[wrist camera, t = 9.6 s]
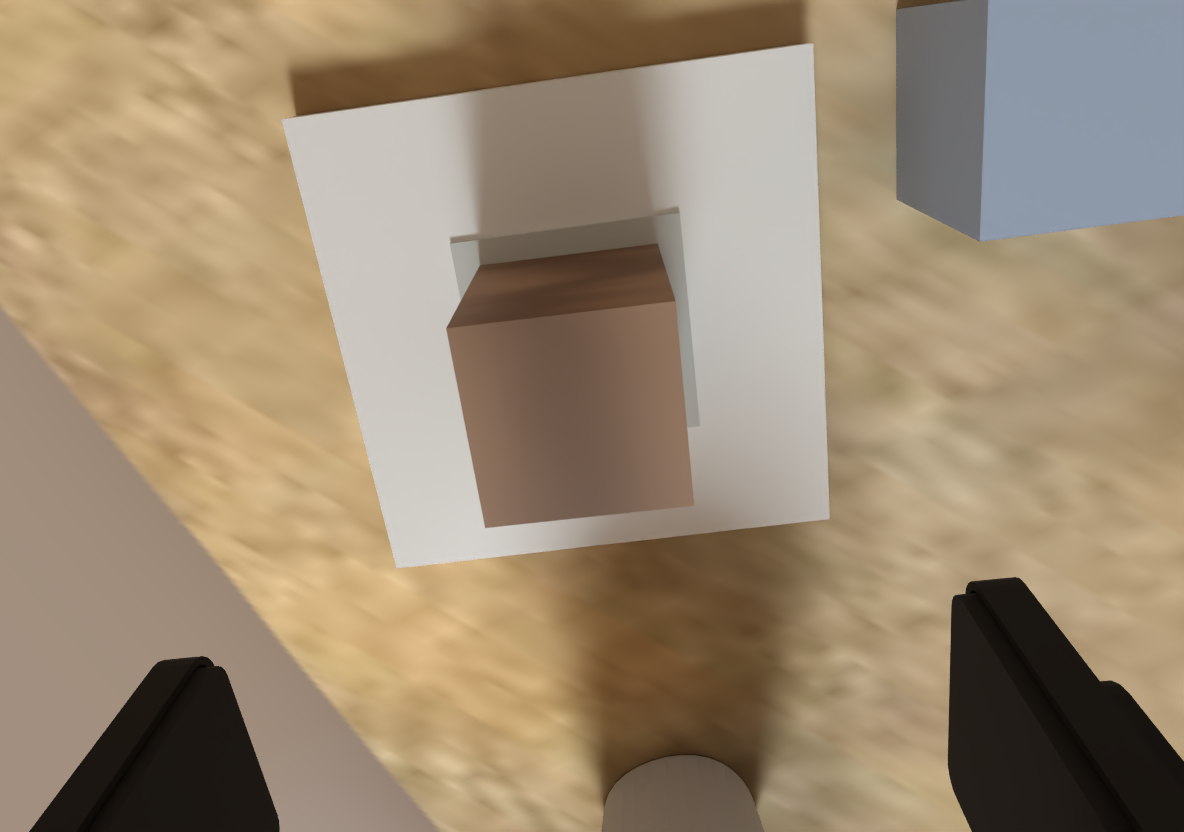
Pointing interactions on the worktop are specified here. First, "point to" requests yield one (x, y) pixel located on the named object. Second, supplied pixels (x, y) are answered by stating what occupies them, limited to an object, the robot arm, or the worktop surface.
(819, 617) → the worktop surface
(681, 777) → the coffee cup
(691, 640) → the worktop surface
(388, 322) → the plate
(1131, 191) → the block blue
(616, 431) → the block walnut
